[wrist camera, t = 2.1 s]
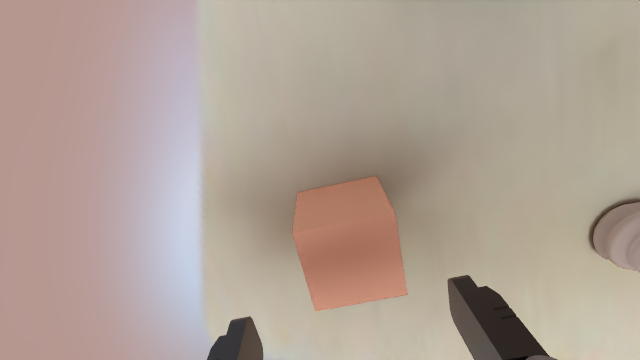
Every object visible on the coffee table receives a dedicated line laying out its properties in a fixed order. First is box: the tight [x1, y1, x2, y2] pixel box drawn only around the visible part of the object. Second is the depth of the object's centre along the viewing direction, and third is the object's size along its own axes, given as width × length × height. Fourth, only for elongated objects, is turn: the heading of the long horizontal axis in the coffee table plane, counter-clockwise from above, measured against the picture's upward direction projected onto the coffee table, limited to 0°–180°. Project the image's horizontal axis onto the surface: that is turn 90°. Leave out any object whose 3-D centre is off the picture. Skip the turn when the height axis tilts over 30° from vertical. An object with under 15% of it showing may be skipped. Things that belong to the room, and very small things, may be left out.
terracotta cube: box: [292, 176, 407, 311], centre depth 18 cm, size 5×5×5 cm
